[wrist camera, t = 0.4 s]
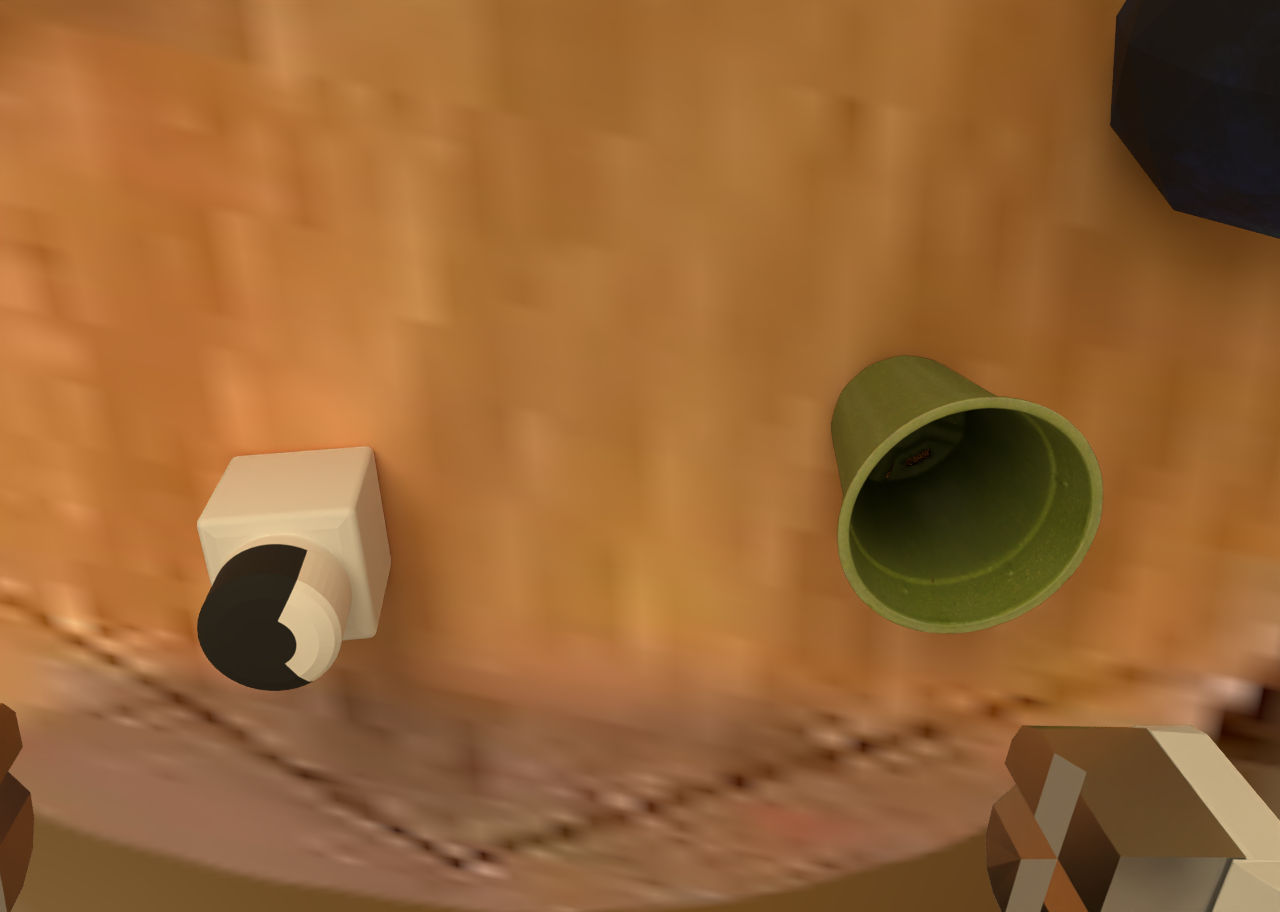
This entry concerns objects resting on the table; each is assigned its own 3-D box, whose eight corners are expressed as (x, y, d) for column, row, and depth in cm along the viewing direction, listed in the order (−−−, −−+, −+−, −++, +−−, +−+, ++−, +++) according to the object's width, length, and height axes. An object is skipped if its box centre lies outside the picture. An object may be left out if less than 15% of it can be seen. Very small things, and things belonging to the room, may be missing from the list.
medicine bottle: (257, 575, 61) (198, 718, 50) (230, 454, 58) (161, 578, 47) (393, 564, 61) (363, 703, 50) (373, 443, 58) (337, 564, 47)
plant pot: (741, 456, 60) (784, 567, 50) (878, 269, 56) (954, 347, 46) (914, 553, 64) (986, 674, 53) (1053, 383, 60) (1160, 478, 50)
